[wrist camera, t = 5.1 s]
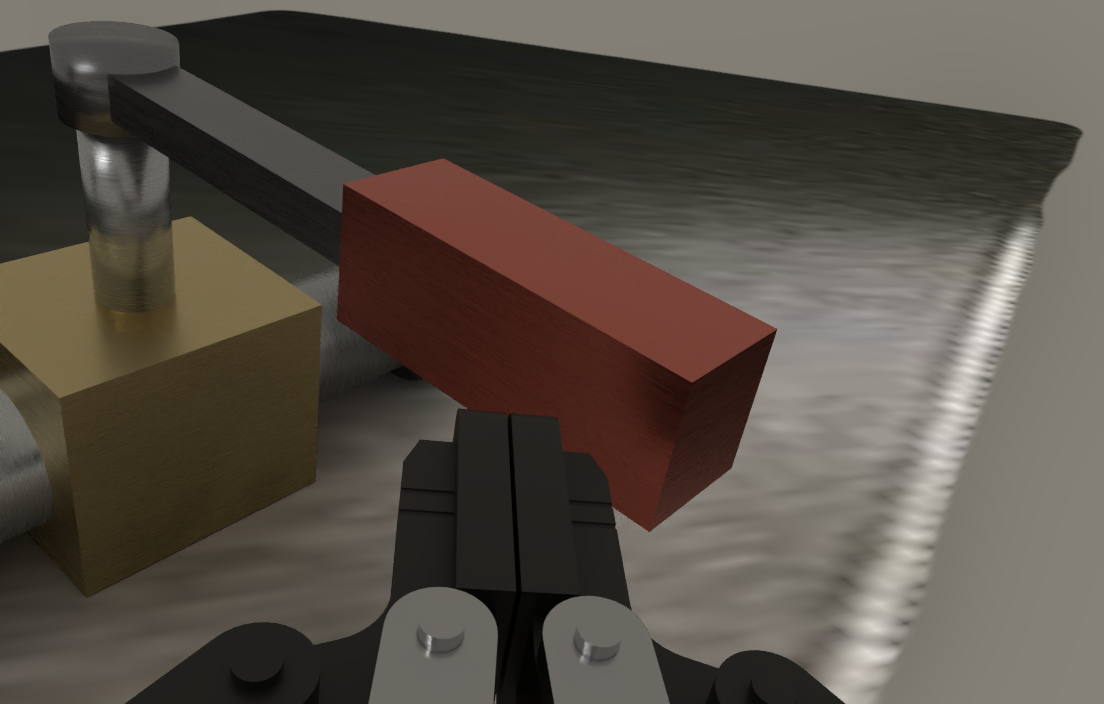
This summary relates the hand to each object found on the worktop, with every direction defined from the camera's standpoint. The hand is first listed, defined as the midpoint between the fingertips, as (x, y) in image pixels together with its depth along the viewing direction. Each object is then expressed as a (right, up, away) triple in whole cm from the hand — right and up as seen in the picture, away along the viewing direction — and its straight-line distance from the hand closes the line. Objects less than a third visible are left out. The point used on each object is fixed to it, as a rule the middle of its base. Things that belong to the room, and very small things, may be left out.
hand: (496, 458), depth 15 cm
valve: (-12, -3, +17) cm, 22 cm away
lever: (-4, +4, +7) cm, 9 cm away
